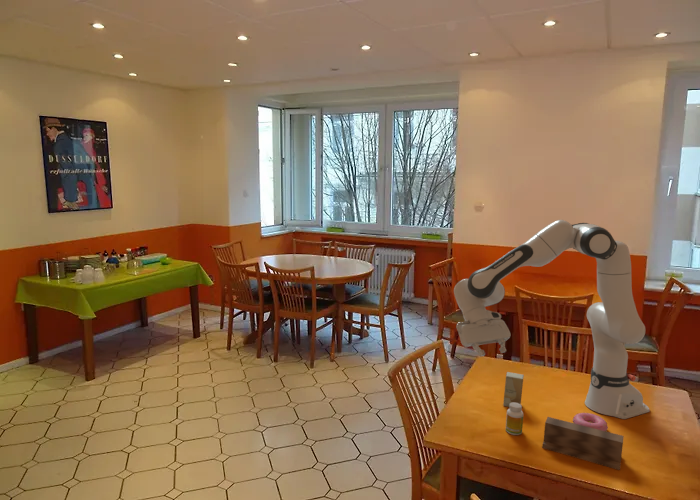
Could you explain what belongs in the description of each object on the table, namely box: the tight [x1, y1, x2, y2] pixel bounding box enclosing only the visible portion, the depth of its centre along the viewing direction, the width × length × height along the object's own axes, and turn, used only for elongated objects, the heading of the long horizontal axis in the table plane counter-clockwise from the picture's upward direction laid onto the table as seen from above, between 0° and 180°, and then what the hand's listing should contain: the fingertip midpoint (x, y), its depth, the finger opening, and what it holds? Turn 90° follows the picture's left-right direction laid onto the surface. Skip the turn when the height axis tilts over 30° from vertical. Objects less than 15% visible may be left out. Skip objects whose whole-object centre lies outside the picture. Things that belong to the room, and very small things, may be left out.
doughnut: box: [572, 412, 609, 432], centre depth 169 cm, size 11×11×4 cm
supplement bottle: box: [505, 402, 524, 436], centre depth 166 cm, size 5×5×10 cm
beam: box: [541, 416, 625, 471], centre depth 154 cm, size 22×8×8 cm, turn 59°
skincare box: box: [502, 371, 524, 408], centre depth 184 cm, size 6×4×12 cm
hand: (493, 353), depth 174 cm, fingers open, 8 cm apart
